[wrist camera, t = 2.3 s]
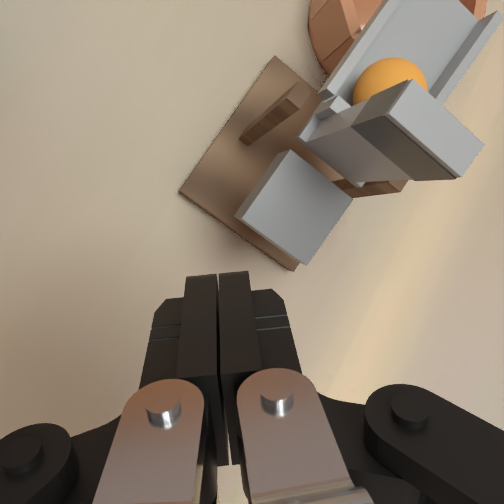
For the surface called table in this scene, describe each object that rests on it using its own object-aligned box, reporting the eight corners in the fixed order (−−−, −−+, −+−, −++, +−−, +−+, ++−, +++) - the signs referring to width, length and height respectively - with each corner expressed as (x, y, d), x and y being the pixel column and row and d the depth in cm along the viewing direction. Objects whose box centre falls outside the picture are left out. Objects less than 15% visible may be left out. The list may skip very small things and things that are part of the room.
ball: (335, 76, 26) (359, 64, 23) (398, 55, 27) (433, 40, 23) (352, 142, 28) (378, 142, 24) (413, 122, 28) (448, 118, 24)
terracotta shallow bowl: (289, -29, 39) (317, -76, 33) (413, -60, 42) (461, -109, 36) (334, 116, 41) (369, 97, 35) (450, 77, 44) (502, 53, 38)
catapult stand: (288, 270, 41) (362, 292, 27) (178, 191, 38) (200, 173, 24) (370, 146, 42) (480, 108, 29) (269, 61, 39) (339, -25, 26)
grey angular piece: (299, 263, 31) (396, 313, 18) (226, 210, 29) (275, 224, 17) (454, 42, 31) (658, -62, 18) (389, -21, 29) (561, -182, 17)
